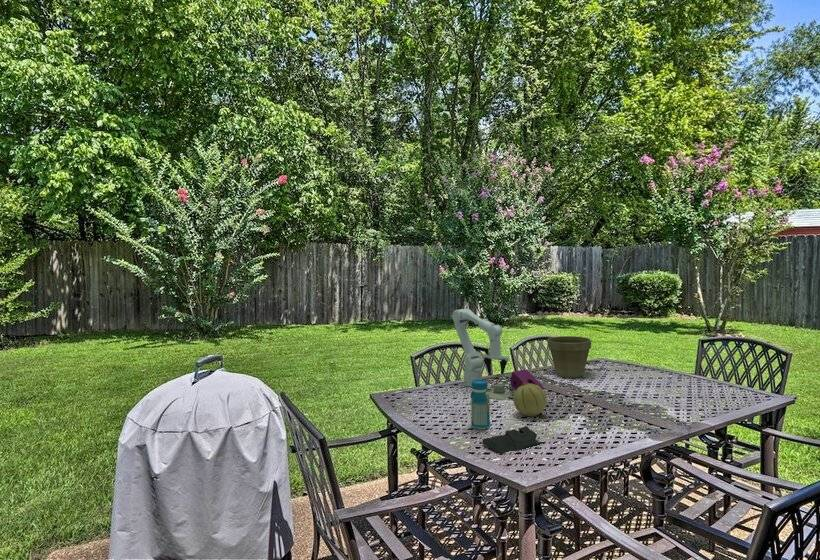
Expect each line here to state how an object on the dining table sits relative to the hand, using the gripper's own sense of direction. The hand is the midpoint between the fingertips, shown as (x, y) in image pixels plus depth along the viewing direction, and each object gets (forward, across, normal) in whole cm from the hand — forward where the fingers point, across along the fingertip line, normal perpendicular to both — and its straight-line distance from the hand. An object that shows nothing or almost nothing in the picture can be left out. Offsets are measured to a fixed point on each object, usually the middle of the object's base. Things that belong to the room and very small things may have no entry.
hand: (495, 372), depth 265 cm
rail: (+10, +1, -9) cm, 13 cm away
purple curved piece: (+10, +14, +9) cm, 20 cm away
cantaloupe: (+10, +30, -28) cm, 42 cm away
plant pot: (+10, +24, +50) cm, 56 cm away
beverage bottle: (+10, +17, -52) cm, 56 cm away
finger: (+9, +6, -9) cm, 14 cm away
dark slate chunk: (+11, +36, -63) cm, 73 cm away
